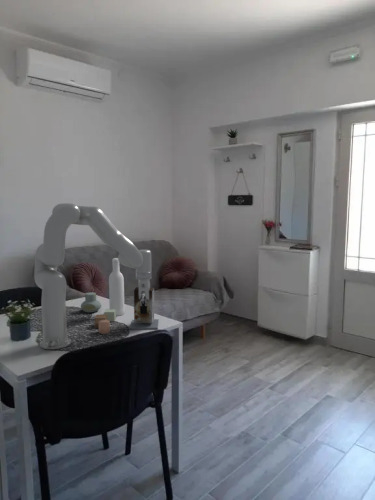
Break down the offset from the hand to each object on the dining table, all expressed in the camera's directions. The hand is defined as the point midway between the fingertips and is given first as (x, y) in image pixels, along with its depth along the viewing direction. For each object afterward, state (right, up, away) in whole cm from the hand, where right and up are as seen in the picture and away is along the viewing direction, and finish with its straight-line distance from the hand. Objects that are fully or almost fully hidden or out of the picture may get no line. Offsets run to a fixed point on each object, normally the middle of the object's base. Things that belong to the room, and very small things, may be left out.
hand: (144, 311), depth 188 cm
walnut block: (-21, -7, 0) cm, 22 cm away
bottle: (-17, -5, +20) cm, 27 cm away
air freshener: (-32, -4, +25) cm, 41 cm away
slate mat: (0, -7, +1) cm, 7 cm away
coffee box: (0, -5, +1) cm, 5 cm away
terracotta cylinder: (-17, -8, -9) cm, 21 cm away
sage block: (-18, -6, +9) cm, 21 cm away
